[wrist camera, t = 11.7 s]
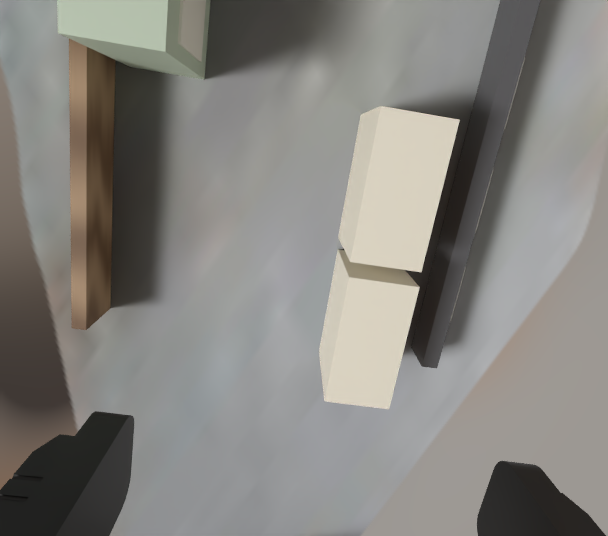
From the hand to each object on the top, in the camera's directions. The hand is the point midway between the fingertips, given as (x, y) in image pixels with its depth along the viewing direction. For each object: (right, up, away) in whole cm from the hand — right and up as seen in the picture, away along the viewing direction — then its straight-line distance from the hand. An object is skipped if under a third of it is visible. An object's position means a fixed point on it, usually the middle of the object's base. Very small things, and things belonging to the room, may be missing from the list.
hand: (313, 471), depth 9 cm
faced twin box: (+4, +1, +24) cm, 25 cm away
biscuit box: (+5, +11, +22) cm, 25 cm away
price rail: (+11, +10, +22) cm, 27 cm away
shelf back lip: (-14, +14, +20) cm, 28 cm away
